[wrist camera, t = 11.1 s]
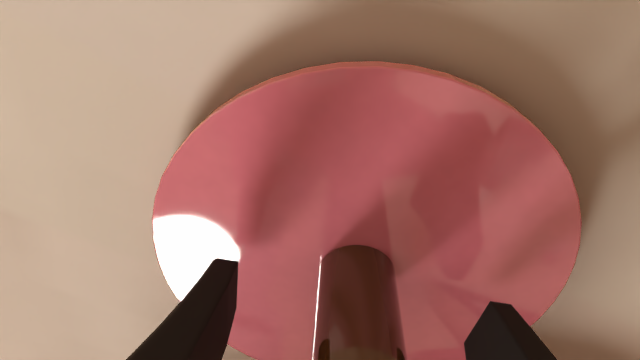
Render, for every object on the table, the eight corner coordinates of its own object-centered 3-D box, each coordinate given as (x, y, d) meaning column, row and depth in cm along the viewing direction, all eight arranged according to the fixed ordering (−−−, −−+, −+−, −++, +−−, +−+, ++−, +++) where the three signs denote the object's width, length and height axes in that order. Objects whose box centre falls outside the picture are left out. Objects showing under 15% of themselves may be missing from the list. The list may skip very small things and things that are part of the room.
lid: (469, 376, 16) (524, 573, 11) (178, 332, 16) (98, 516, 11) (663, 101, 9) (1048, 299, 4) (146, 11, 9) (-126, 106, 4)
